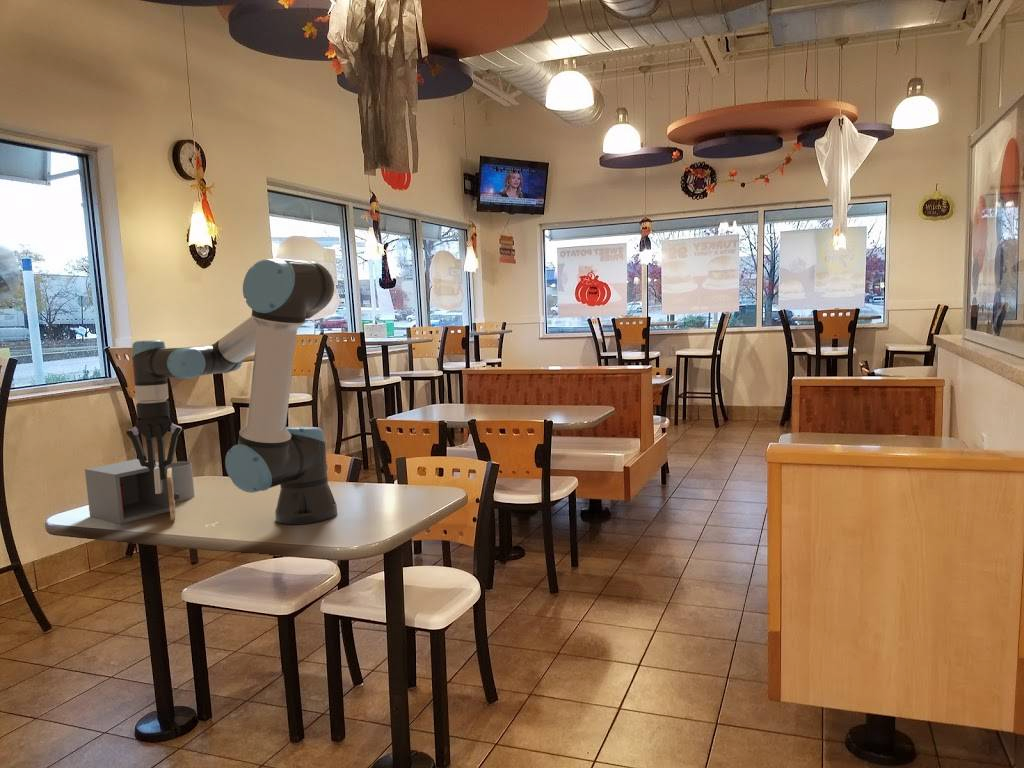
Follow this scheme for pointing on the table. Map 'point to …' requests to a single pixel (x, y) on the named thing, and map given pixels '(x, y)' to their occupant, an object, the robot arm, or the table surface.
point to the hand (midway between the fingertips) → (159, 492)
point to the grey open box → (124, 492)
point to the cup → (183, 480)
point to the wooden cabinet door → (171, 493)
